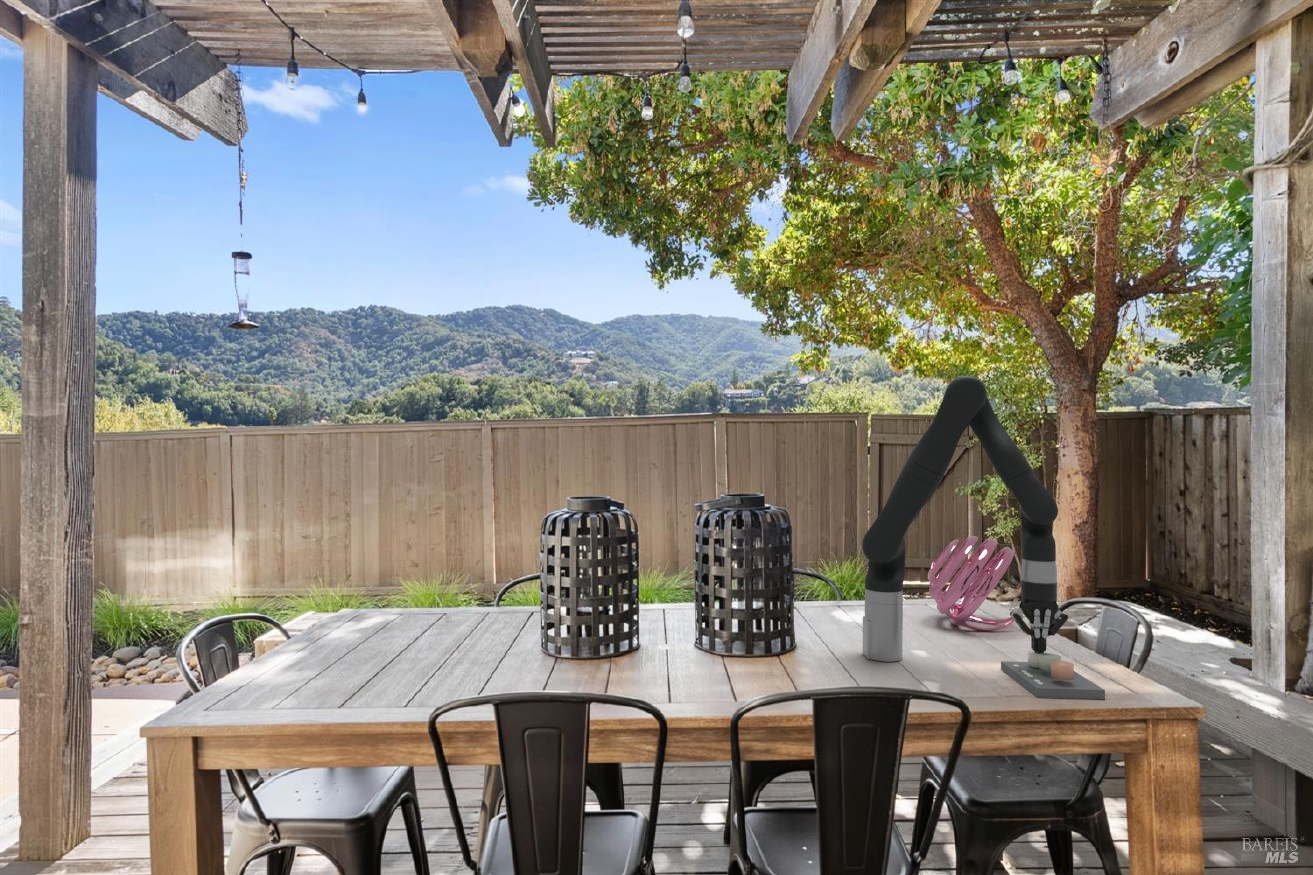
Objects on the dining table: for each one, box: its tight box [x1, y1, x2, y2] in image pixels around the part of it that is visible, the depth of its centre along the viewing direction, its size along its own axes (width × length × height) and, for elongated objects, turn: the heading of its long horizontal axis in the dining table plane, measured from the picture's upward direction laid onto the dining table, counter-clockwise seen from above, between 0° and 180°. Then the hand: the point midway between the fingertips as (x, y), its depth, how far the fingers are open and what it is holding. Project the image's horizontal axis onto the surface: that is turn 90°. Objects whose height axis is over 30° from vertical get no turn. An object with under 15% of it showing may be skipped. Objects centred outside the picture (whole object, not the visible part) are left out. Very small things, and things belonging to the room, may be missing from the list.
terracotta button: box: [1051, 660, 1075, 680], centre depth 165 cm, size 4×4×3 cm
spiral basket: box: [927, 535, 1015, 632], centre depth 225 cm, size 28×28×27 cm
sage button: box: [1039, 652, 1062, 672], centre depth 171 cm, size 4×4×3 cm
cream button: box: [1027, 649, 1048, 668], centre depth 177 cm, size 4×4×3 cm
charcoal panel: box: [1000, 660, 1106, 701], centre depth 171 cm, size 14×20×2 cm
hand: (1038, 652), depth 177 cm, fingers closed
